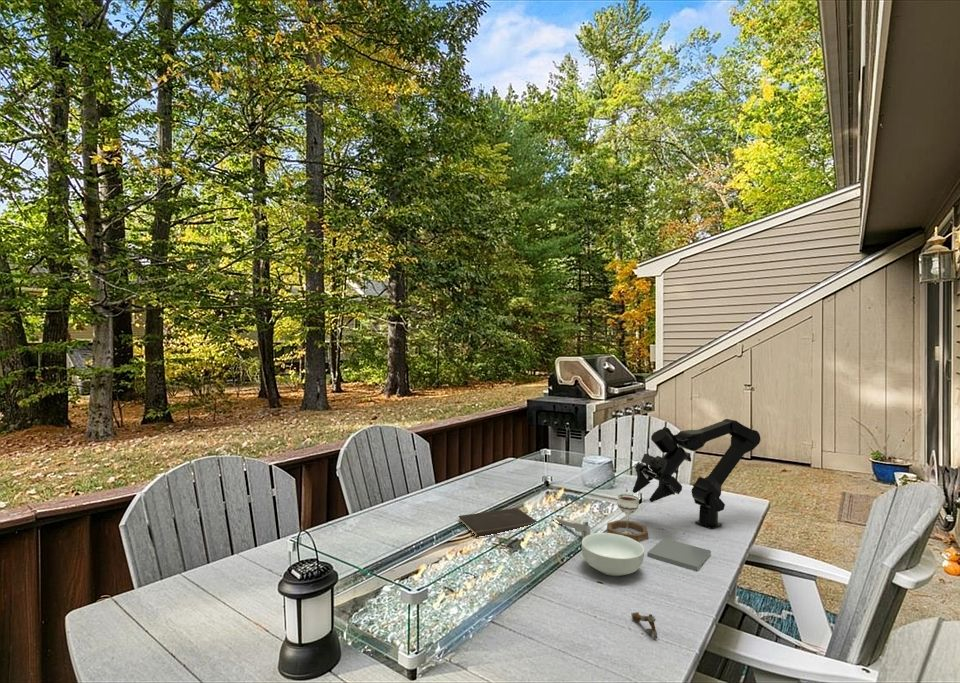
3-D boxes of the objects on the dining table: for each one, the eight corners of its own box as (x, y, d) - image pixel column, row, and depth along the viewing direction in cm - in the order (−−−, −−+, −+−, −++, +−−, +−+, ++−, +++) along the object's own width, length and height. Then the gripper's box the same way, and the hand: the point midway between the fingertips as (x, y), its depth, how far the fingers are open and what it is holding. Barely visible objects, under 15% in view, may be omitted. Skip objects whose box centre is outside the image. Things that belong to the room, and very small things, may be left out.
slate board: (663, 541, 157) (663, 537, 157) (710, 554, 148) (710, 550, 148) (647, 556, 146) (647, 552, 146) (697, 571, 138) (697, 566, 138)
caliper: (590, 543, 156) (590, 523, 156) (587, 543, 155) (588, 523, 155) (554, 520, 174) (555, 502, 174) (552, 521, 174) (552, 503, 174)
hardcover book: (458, 522, 172) (458, 515, 172) (517, 513, 181) (517, 507, 181) (476, 540, 157) (476, 532, 157) (539, 529, 166) (539, 523, 166)
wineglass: (638, 531, 165) (639, 495, 165) (637, 539, 159) (638, 502, 159) (617, 528, 167) (617, 493, 167) (615, 536, 161) (616, 499, 161)
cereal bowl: (609, 590, 127) (609, 562, 126) (568, 563, 141) (569, 538, 141) (657, 576, 134) (658, 550, 134) (614, 552, 149) (614, 528, 149)
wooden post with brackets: (654, 639, 105) (650, 615, 106) (635, 634, 112) (630, 612, 113) (662, 638, 105) (657, 614, 107) (642, 633, 112) (637, 611, 114)
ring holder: (624, 523, 172) (624, 518, 172) (655, 536, 162) (655, 530, 161) (599, 531, 165) (599, 525, 165) (630, 544, 154) (630, 538, 154)
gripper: (640, 439, 175) (611, 472, 172) (675, 452, 157) (644, 489, 154) (658, 461, 177) (630, 494, 174) (695, 475, 159) (665, 512, 156)
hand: (641, 496), depth 164 cm, fingers open, 9 cm apart
